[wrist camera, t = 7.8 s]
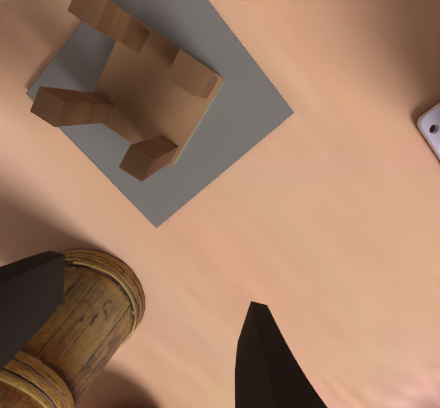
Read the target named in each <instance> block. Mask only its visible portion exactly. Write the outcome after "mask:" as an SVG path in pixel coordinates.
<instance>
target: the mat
mask: <svg viewBox="0 0 440 408" xmlns="http://www.w3.org/2000/svg"><path fill="white" fill-rule="evenodd" d="M111 1H112V2H113V3H115V4H116V5H117V6H118V7H120V8H121V9H122V10H123V11H125V12H126V13H127V14H128V13H130V14H132V15H133V16H134V17H136V18H137V19H139V20H140V21H142V22H143V23H144V24H146V25H147V26H149V27H150V28H152V29H153V30H154V31H156V32H157V33H159V34H160V35H162V36H163V37H164V38H166V39H167V40H169V41H170V42H172V43H173V44H174V45H176V46H177V47H179V48H180V49H182V50H183V51H184V52H186V53H187V54H189V55H190V56H192V57H193V58H194V59H196V60H197V61H199V62H200V63H202V64H203V65H204V66H206V67H207V68H209V69H210V70H212V71H213V72H214V73H216V74H217V75H219V76H220V77H222V78H223V79H224V80H225V81H224V83H223V84H222V86H221V88H220V89H219V91H218V93H217V94H216V96H215V98H214V99H213V101H212V103H211V104H210V106H209V108H208V109H207V111H206V113H205V115H204V116H203V118H202V120H201V121H200V123H199V125H198V126H197V128H196V130H195V131H194V133H193V135H192V136H191V138H190V140H189V141H188V143H187V145H186V146H185V148H184V150H183V151H182V153H181V155H180V157H179V158H178V160H177V162H176V163H175V164H174V165H173V166H172V167H169V166H167V165H166V166H164V167H163V168H161V169H160V170H158V171H157V172H155V173H154V174H152V175H151V176H149V177H148V178H146V179H145V180H144V181H142V182H141V181H139V180H138V179H136V178H135V177H133V176H132V175H130V174H128V173H127V172H125V171H124V170H122V169H121V168H119V165H120V164H121V162H122V160H123V158H124V156H125V154H126V152H127V150H128V148H129V146H130V145H131V144H133V143H131V142H130V141H128V140H127V139H125V138H124V137H122V136H121V135H119V134H118V133H116V132H114V131H113V130H111V129H110V128H108V127H107V126H105V125H104V124H102V123H96V124H84V125H72V126H60V127H59V128H60V129H61V130H62V131H63V132H64V133H65V134H66V135H67V136H68V137H69V138H70V139H71V141H72V142H73V143H74V144H75V145H76V146H77V147H78V148H79V149H80V150H81V151H82V152H83V153H84V154H85V155H86V156H87V157H88V158H89V159H90V160H91V161H92V162H93V163H94V164H95V165H96V166H97V167H98V168H99V169H100V170H101V171H102V173H103V174H104V175H105V176H106V177H107V178H108V179H109V180H110V181H111V182H112V183H113V184H114V185H115V186H116V187H117V188H118V189H119V190H120V191H121V192H122V193H123V194H124V195H125V196H126V197H127V198H128V199H129V200H130V201H131V202H132V203H133V204H134V206H135V207H136V208H137V209H138V210H139V211H140V212H141V213H142V214H143V215H144V216H145V217H146V218H147V219H148V220H149V221H150V222H151V223H152V224H153V225H154V226H155V227H156V228H157V227H158V226H160V225H161V224H162V223H163V222H164V221H166V220H167V219H168V218H169V217H170V216H172V215H173V214H174V213H175V212H176V211H178V210H179V209H180V208H181V207H182V206H183V205H185V204H186V203H187V202H188V201H189V200H191V199H192V198H193V197H194V196H195V195H197V194H198V193H199V192H200V191H201V190H203V189H204V188H205V187H206V186H207V185H208V184H210V183H211V182H212V181H213V180H214V179H216V178H217V177H218V176H219V175H220V174H222V173H223V172H224V171H225V170H226V169H228V168H229V167H230V166H231V165H232V164H233V163H235V162H236V161H237V160H238V159H239V158H241V157H242V156H243V155H244V154H245V153H247V152H248V151H249V150H250V149H251V148H253V147H254V146H255V145H256V144H257V143H258V142H260V141H261V140H262V139H263V138H264V137H266V136H267V135H268V134H269V133H270V132H272V131H273V130H274V129H275V128H276V127H278V126H279V125H280V124H281V123H282V122H283V121H285V120H286V119H287V118H288V117H289V116H291V115H292V114H293V113H294V112H293V111H292V109H291V108H290V107H289V105H288V104H287V103H286V101H285V100H284V99H283V97H282V96H281V95H280V94H279V92H278V91H277V90H276V88H275V87H274V86H273V84H272V83H271V82H270V80H269V79H268V78H267V77H266V75H265V74H264V73H263V71H262V70H261V69H260V67H259V66H258V65H257V63H256V62H255V61H254V60H253V58H252V57H251V56H250V54H249V53H248V52H247V50H246V49H245V48H244V46H243V45H242V44H241V43H240V41H239V40H238V39H237V37H236V36H235V35H234V33H233V32H232V31H231V29H230V28H229V27H228V26H227V24H226V23H225V22H224V20H223V19H222V18H221V16H220V15H219V14H218V12H217V11H216V10H215V8H214V7H213V6H212V5H211V3H210V2H209V1H208V0H111ZM115 43H116V40H114V39H113V38H111V37H109V36H107V35H105V34H103V33H101V32H100V31H98V30H96V29H94V28H93V27H91V26H90V25H88V24H87V23H85V22H84V21H83V22H82V23H81V24H80V26H79V27H78V28H77V29H76V31H75V32H74V33H73V35H72V36H71V37H70V38H69V40H68V41H67V42H66V43H65V45H64V46H63V47H62V48H61V50H60V51H59V52H58V53H57V55H56V56H55V57H54V58H53V60H52V61H51V62H50V64H49V65H48V66H47V67H46V69H45V70H44V71H43V72H42V74H41V75H40V76H39V77H38V79H37V80H36V81H35V82H34V84H33V85H32V86H31V87H30V89H29V90H28V91H27V92H26V94H27V95H28V96H29V97H30V98H31V99H32V100H33V101H34V100H35V97H36V95H37V92H38V89H39V87H40V86H43V87H51V88H60V89H68V90H76V91H85V92H94V90H95V88H96V85H97V83H98V81H99V79H100V76H101V74H102V72H103V70H104V67H105V65H106V63H107V61H108V58H109V56H110V54H111V52H112V49H113V47H114V45H115Z"/></svg>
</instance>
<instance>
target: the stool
mask: <svg viewBox="0 0 440 408" xmlns="http://www.w3.org/2000/svg"><path fill="white" fill-rule="evenodd" d="M68 11H69V12H71V13H72V14H74V15H75V16H77V17H78V18H80V19H81V20H83V21H84V22H85V23H87V24H88V25H90V26H91V27H93V28H94V29H96V30H98V31H100V32H101V33H103V34H105V35H107V36H109V37H111V38H113V39H114V40H116V43H115V45H114V47H113V49H112V52H111V54H110V56H109V58H108V61H107V63H106V65H105V67H104V70H103V72H102V74H101V76H100V79H99V81H98V83H97V85H96V88H95V90H94V92H85V91H76V90H68V89H60V88H51V87H43V86H40V87H39V89H38V92H37V95H36V97H35V100H34V103H33V105H32V108H31V112H32V113H34V114H35V115H37V116H38V117H40V118H42V119H43V120H45V121H46V122H48V123H49V124H51V125H53V126H54V127H60V126H72V125H84V124H96V123H102V124H104V125H105V126H107V127H108V128H110V129H111V130H113V131H114V132H116V133H118V134H119V135H121V136H122V137H124V138H125V139H127V140H128V141H130V142H131V143H133V144H131V145H130V146H129V148H128V150H127V152H126V154H125V156H124V158H123V160H122V162H121V164H120V165H119V168H121V169H122V170H124V171H125V172H127V173H128V174H130V175H132V176H133V177H135V178H136V179H138V180H139V181H141V182H142V181H144V180H145V179H146V178H148V177H149V176H151V175H152V174H154V173H155V172H157V171H158V170H160V169H161V168H163V167H164V166H166V165H167V166H169V167H172V166H173V165H174V164H175V163H176V162H177V160H178V158H179V157H180V155H181V153H182V151H183V150H184V148H185V146H186V145H187V143H188V141H189V140H190V138H191V136H192V135H193V133H194V131H195V130H196V128H197V126H198V125H199V123H200V121H201V120H202V118H203V116H204V115H205V113H206V111H207V109H208V108H209V106H210V104H211V103H212V101H213V99H214V98H215V96H216V94H217V93H218V91H219V89H220V88H221V86H222V84H223V83H224V81H225V80H224V79H223V78H222V77H220V76H219V75H217V74H216V73H214V72H213V71H212V70H210V69H209V68H207V67H206V66H204V65H203V64H202V63H200V62H199V61H197V60H196V59H194V58H193V57H192V56H190V55H189V54H187V53H186V52H184V51H183V50H182V49H180V48H179V47H177V46H176V45H174V44H173V43H172V42H170V41H169V40H167V39H166V38H164V37H163V36H162V35H160V34H159V33H157V32H156V31H154V30H153V29H152V28H150V27H149V26H147V25H146V24H144V23H143V22H142V21H140V20H139V19H137V18H136V17H134V16H133V15H132V14H130V13H128V14H127V13H126V12H125V11H123V10H122V9H121V8H120V7H118V6H117V5H116V4H115V3H113V2H112V1H111V0H72V1H71V4H70V7H69V9H68Z"/></svg>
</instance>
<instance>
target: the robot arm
mask: <svg viewBox="0 0 440 408" xmlns="http://www.w3.org/2000/svg"><path fill="white" fill-rule="evenodd" d="M432 125H434V126H435V129H434V131H433V132H432V133H430V131H429V129H430V127H431V126H432ZM417 126H418V128H419V130H420V131H421V133H422V134H423V136H424V137H425V139H426V140H427V142H428V143H429V145H430V146H431V148H432V149H433V151H434V152H435V154H436V155H437V157H438V158H439V160H440V102H439V103H438V104H437V105H435V106H434V107H433V108H431V109H430V110H428V111H427V112H426V113H424V114H423V115H422V116H421V117H420V118H419V119H418V121H417ZM64 276H65V254H61V253H57V252H53V251H48V252H44V253H41V254H37V255H34V256H31V257H28V258H25V259H22V260H19V261H16V262H13V263H10V264H8V265H5V266H2V267H0V371H1V370H2V369H3V368H4V367H5V366H6V364H7V363H8V362H9V361H10V360H11V359H12V358H13V357H14V356H15V355H16V354H17V353H18V352H19V351H20V350H21V349H22V348H23V347H24V346H25V344H26V343H27V342H28V341H29V340H30V339H31V338H32V337H33V336H34V335H35V334H36V333H37V332H38V331H39V330H40V328H41V327H42V326H43V325H44V324H45V323H46V322H47V320H48V319H49V318H50V316H51V315H52V314H53V313H54V311H55V310H56V308H57V307H58V306H59V304H60V303H61V301H62V300H63V296H64ZM235 408H327V406H326V405H325V404H324V402H323V401H322V399H321V398H320V397H319V395H318V394H317V393H316V391H315V390H314V388H313V387H312V385H311V384H310V382H309V381H308V379H307V378H306V376H305V374H304V373H303V371H302V370H301V368H300V366H299V365H298V363H297V361H296V360H295V358H294V356H293V354H292V353H291V351H290V349H289V347H288V345H287V344H286V342H285V340H284V338H283V336H282V334H281V332H280V330H279V328H278V326H277V324H276V322H275V320H274V318H273V316H272V314H271V312H270V310H269V308H268V306H267V305H264V304H260V303H256V302H252V301H251V303H250V306H249V309H248V312H247V315H246V318H245V322H244V325H243V328H242V331H241V334H240V337H239V340H238V345H237V354H236V365H235Z"/></svg>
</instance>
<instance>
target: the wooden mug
mask: <svg viewBox="0 0 440 408" xmlns="http://www.w3.org/2000/svg"><path fill="white" fill-rule="evenodd" d="M61 254H65V276H64V296H63V300H62V301H61V303H60V304H59V306H58V307H57V308H56V310H55V311H54V313H53V314H52V315H51V316H50V318H49V319H48V320H47V322H46V323H45V324H44V325H43V326H42V327H41V328H40V330H39V331H38V332H37V333H36V334H35V335H34V336H33V337H32V338H31V339H30V340H29V341H28V342H27V343H26V344H25V346H24V347H23V348H22V349H21V350H20V351H19V352H18V353H17V354H16V355H15V356H14V357H13V358H12V359H11V360H10V361H9V362H8V363H7V364H6V366H5V367H4V368H3V369H2V370H1V371H0V408H75V407H76V406H77V404H78V403H79V401H80V400H81V399H82V397H83V396H84V394H85V393H86V392H87V390H88V389H89V387H90V386H91V385H92V383H93V382H94V381H95V379H96V378H97V376H98V375H99V374H100V372H101V371H102V370H103V368H104V367H105V365H106V364H107V363H108V361H109V360H110V359H111V357H112V356H113V354H114V353H115V352H116V350H117V349H118V348H119V347H120V346H121V345H123V344H124V343H125V342H126V341H127V340H128V339H129V338H130V336H131V335H132V333H133V332H134V330H135V329H136V328H137V326H138V325H139V323H140V322H141V321H142V318H143V315H144V311H145V296H144V292H143V289H142V286H141V284H140V282H139V281H138V279H137V278H136V276H135V275H134V273H133V272H132V271H131V270H130V269H129V268H128V267H127V266H126V265H125V264H124V263H123V262H122V261H120V260H118V259H116V258H114V257H113V256H111V255H108V254H105V253H102V252H98V251H95V250H85V249H78V250H66V251H64V252H61Z"/></svg>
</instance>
